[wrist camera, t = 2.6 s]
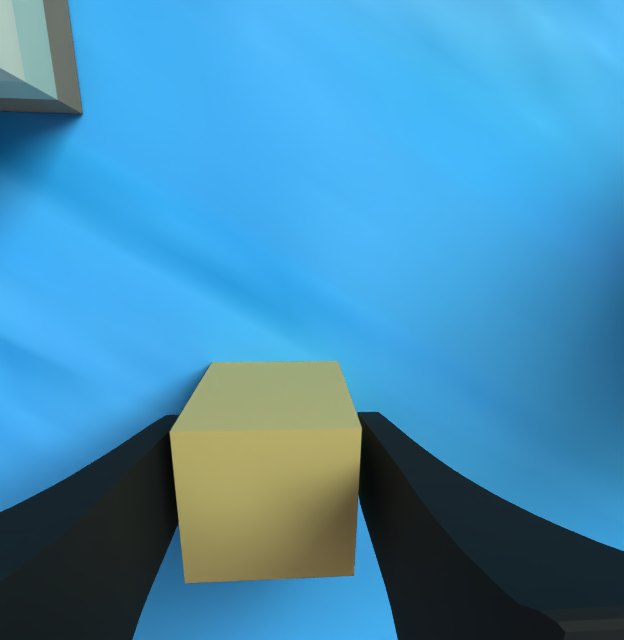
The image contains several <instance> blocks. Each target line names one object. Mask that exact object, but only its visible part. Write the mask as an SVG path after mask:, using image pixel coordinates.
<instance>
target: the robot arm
mask: <svg viewBox="0 0 624 640" xmlns="http://www.w3.org/2000/svg"><path fill="white" fill-rule="evenodd" d="M179 416H180V415H166V416H164V417H162V418H161V419H159V420H157V421H156V422H154V423H153V424H151V425H150V426H148V427H147V428H145V429H144V430H142V431H141V432H139V433H138V434H136V435H135V436H133V437H132V438H130V439H129V440H127V441H126V442H124V443H123V444H121V445H120V446H118V447H117V448H115V449H114V450H112V451H110V452H109V453H107V454H106V455H104V456H102V457H101V458H99V459H98V460H96V461H94V462H93V463H91V464H89V465H88V466H86V467H84V468H83V469H81V470H80V471H78V472H76V473H75V474H73V475H71V476H70V477H68V478H66V479H64V480H63V481H61V482H59V483H57V484H55V485H54V486H52V487H50V488H48V489H46V490H44V491H42V492H40V493H38V494H36V495H35V496H33V497H31V498H29V499H27V500H25V501H23V502H21V503H19V504H17V505H15V506H13V507H11V508H9V509H6V510H4V511H2V512H0V640H132V639H133V636H134V633H135V630H136V627H137V623H138V620H139V617H140V615H141V612H142V610H143V607H144V604H145V602H146V599H147V596H148V594H149V592H150V589H151V587H152V584H153V582H154V580H155V577H156V575H157V573H158V570H159V568H160V565H161V563H162V561H163V558H164V556H165V554H166V551H167V549H168V546H169V544H170V542H171V539H172V537H173V535H174V532H175V530H176V527H177V525H178V522H179V519H178V509H177V500H176V490H175V480H174V470H173V460H172V450H171V440H170V431H171V429H172V427H173V426H174V424H175V422H176V421H177V419H178V417H179ZM358 419H359V421H360V424H361V427H362V435H361V453H360V472H359V491H358V494H359V500H360V505H361V508H362V512H363V515H364V518H365V522H366V525H367V528H368V531H369V535H370V538H371V541H372V544H373V548H374V551H375V554H376V557H377V561H378V564H379V567H380V570H381V574H382V577H383V580H384V583H385V587H386V590H387V594H388V598H389V602H390V605H391V610H392V614H393V619H394V624H395V628H396V633H397V638H398V640H624V551H621V550H619V549H616V548H613V547H610V546H607V545H605V544H602V543H600V542H597V541H595V540H592V539H590V538H587V537H585V536H582V535H580V534H578V533H575V532H573V531H570V530H568V529H565V528H563V527H561V526H558V525H556V524H554V523H552V522H550V521H547V520H545V519H543V518H541V517H538V516H536V515H534V514H532V513H530V512H528V511H526V510H524V509H522V508H520V507H518V506H516V505H514V504H512V503H510V502H508V501H506V500H504V499H502V498H500V497H499V496H497V495H495V494H493V493H491V492H489V491H488V490H486V489H484V488H483V487H481V486H479V485H477V484H476V483H474V482H472V481H471V480H469V479H467V478H466V477H464V476H462V475H461V474H459V473H458V472H456V471H455V470H453V469H452V468H450V467H449V466H447V465H446V464H444V463H443V462H442V461H440V460H439V459H437V458H436V457H434V456H433V455H432V454H430V453H429V452H428V451H426V450H425V449H424V448H422V447H421V446H420V445H418V444H417V443H416V442H415V441H413V440H412V439H411V438H410V437H408V436H407V435H406V434H405V433H403V432H402V431H401V430H400V429H399V428H397V427H396V426H395V425H394V424H393V423H391V422H390V421H389V420H388V419H387V418H385V417H384V416H383V415H381V414H380V413H379V412H358Z"/></svg>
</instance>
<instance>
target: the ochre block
mask: <svg viewBox="0 0 624 640" xmlns="http://www.w3.org/2000/svg"><path fill="white" fill-rule="evenodd" d="M361 435H362V427H361V424H360V421H359V419H358V416H357V413H356V410H355V407H354V404H353V402H352V399H351V396H350V393H349V390H348V388H347V385H346V382H345V379H344V376H343V373H342V371H341V368H340V365H339V362H338V361H297V362H212V363H211V365H210V366H209V368H208V370H207V371H206V373H205V375H204V376H203V378H202V380H201V381H200V383H199V384H198V386H197V388H196V389H195V391H194V393H193V394H192V396H191V398H190V399H189V401H188V403H187V404H186V406H185V407H184V409H183V411H182V412H181V414H180V416H179V417H178V419H177V421H176V422H175V424H174V426H173V427H172V429H171V431H170V440H171V450H172V460H173V470H174V480H175V490H176V500H177V509H178V519H179V529H180V539H181V549H182V559H183V569H184V579H185V583H203V582H226V581H248V580H270V579H293V578H315V577H337V576H354V565H355V547H356V528H357V509H358V491H359V472H360V453H361Z"/></svg>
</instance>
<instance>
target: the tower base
mask: <svg viewBox="0 0 624 640" xmlns="http://www.w3.org/2000/svg"><path fill="white" fill-rule="evenodd" d="M0 111H14V112H44V113H74V114H83V112H82V104H81V97H80V89H79V82H78V75H77V67H76V60H75V52H74V45H73V37H72V30H71V23H70V15H69V8H68V0H0Z"/></svg>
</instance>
